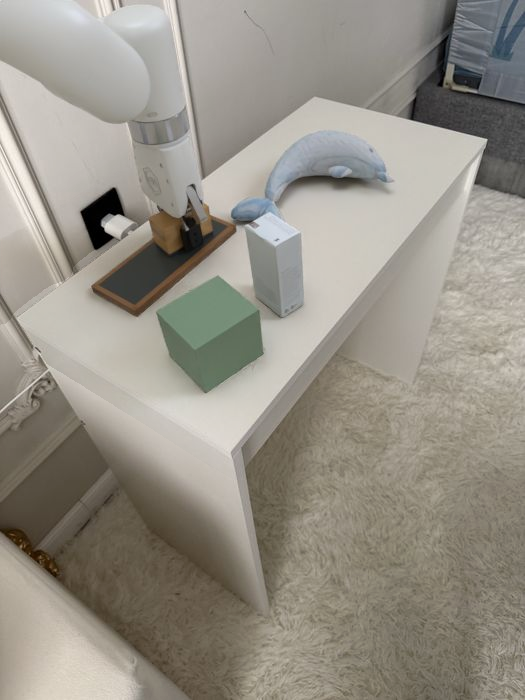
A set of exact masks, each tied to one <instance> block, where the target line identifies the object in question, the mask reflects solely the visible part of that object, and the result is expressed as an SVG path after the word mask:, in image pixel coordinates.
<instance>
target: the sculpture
mask: <svg viewBox="0 0 525 700" xmlns="http://www.w3.org/2000/svg"><path fill="white" fill-rule="evenodd" d="M312 176H314V177H315V176H326V177H327V176H328V177H329V176H330V177H332V178H338V179H340V178H353V179H367V180H372V181H373V180H374V181H376V180H378V181H381V182H383V183H386V184H390V183H394V182H395V179H394V178H393V176H392V175H390V174H389V173H387V167H386V164H385V162H384V160H383V159H382V157H381V155H380V154H379V153H378V152H377V150H376V149H375V148H374V147H373V146H372V145H371V144H370V143H368V141H366V140H365V139H363V138H361V137H358V136H357V135H354V134H351V133H349V132H345V131H341V130H333V129H328V130H327V129H326V130H319V131H316V132H312V133H309V134H307V135H305V136H302V137H301V138H299V139H298V140H296V141H295V142H294V143H292V144H291V146H289V147H288V148H287V149H286V150H285V152H283V154H282V155H281V156H280V157H279V158H278V160H277V162H275V164H274V166H273V168H272V170H271V171H270V173H269V175H268V178H267V182H266V184H265V188H264V197H247V198H244V199H243V200H241V201H240V202H238V203H237V204H236V205H235V206H234V207H233V208H232V209H231V211H230V216H231V219H233V220H236V221H240V222H242V221H243V222H244V221H245V222H246V221H250V222H252V221H254V220H256V219H258V218H259V217H261V216H263V215H265V214H267V213H269V212H271V213H272V214H274V215H275V216H277V217H278V218H280V219H281V220H283V221H284V222H286V219H285V218H284V216H283V214H282V213H281V211H280V210H279V208H278V207H277V205H276V203H275V202H277V201H279V199H280V197H281V195H282V193H283V192H284V191H285V189H287V187H288V186H290V184H291V183H292V182H294V181H296V180H297V179H299V178H304V177H312ZM286 223H287V222H286Z"/></svg>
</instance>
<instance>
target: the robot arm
mask: <svg viewBox="0 0 525 700" xmlns="http://www.w3.org/2000/svg"><path fill="white" fill-rule="evenodd" d="M170 19H171V18H170V17H169V15H168V13H167V12H166V11H165V10H164V9H163V8H161V7H159V6H157V5H155V4H154V5H153V4H149V3H148V4H147V3H137V4H130V5H125V6H122V7H119V8H116V9H115V10H113V11H111V12H109V13H108V14H107V15H105V16H101V17H96V16H95V15H93V13H91V12H89V10H87V9H86V8H85V7H83V6H82V5H81V4H79V3H78V2H77V1H75V0H0V62H3V63H5V64H6V65H9V66H10V67H12V68H14V69H15V70H17V71H19V72H21V73H23V74H24V75H27V76H28V77H30V78H32V79H34V80H35V81H37V82H39V83H40V84H41V85H42V86H43V88H45V89H46V90H47V91H48V92H50V94H52V95H53V96H55V97H57V98H59V99H60V100H63V101H64V102H66V103H68V104H69V105H72V106H74V107H76V108H78V109H80V110H82V111H84V112H85V113H87V114H89V115H91V116H92V117H94V118H96V119H98V120H99V121H101V122H105V123H107V124H112V125H122V124H126V123H127V124H126V125H127V127H128V131H129V135H130V138H131V146H132V153H133V159H134V163H135V167H136V172H137V175H138V180H139V184H140V187H141V191H142V193H143V194H144V195H145V196H146V197H147V198H148V199H149V200H150V201H152V202H153V203H154V204H155V205H156V208H157V211H158V213H159V212H161V211H163V210H164V211H166V212H167V213H168V214H170V215H171V216H173V217H175V218H179V221H180V224H181V227H182V228H181V229H180V234H181V238H182V242H183V247H184V250H185V251H186V252H190V251H191V250H193V249H195V248H197V247H199V246H201V245H202V244H203V243H204V241H203V236H202V230H201V225H200V224H202V222H204V221H206V220H208V217H207V215H206V213H205V211H204V208H203V204H204V203H205V196H204V188H203V183H202V178H201V173H200V170H199V166H198V162H197V157H196V154H195V151H194V147H193V144H192V140H191V137H190V133H191V128H190V123H189V121H190V120H189V116H188V111H187V105H186V99H185V95H184V94H185V93H184V88H183V82H182V77H181V72H180V71H181V70H180V66H179V60H178V54H177V48H176V44H175V43H176V42H175V38H174V32H173V27H172V23H171V20H170ZM187 204H188V205H187ZM190 211H191V212H192V215H193V217H191V218H189V219H188V220H187V221H186V218H185V214H186V213H188V212H190Z"/></svg>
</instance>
